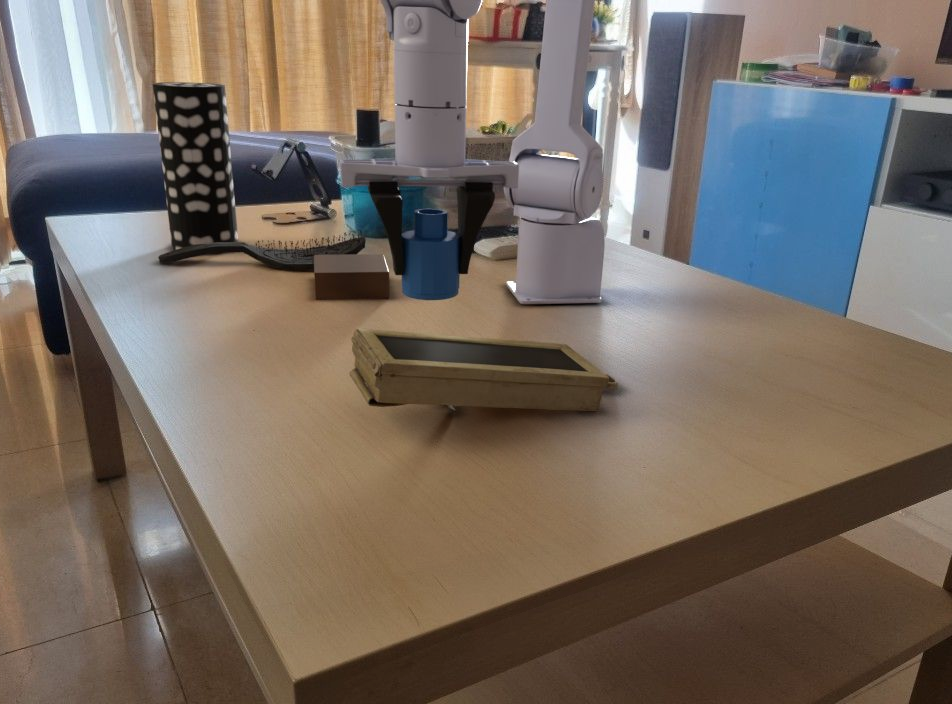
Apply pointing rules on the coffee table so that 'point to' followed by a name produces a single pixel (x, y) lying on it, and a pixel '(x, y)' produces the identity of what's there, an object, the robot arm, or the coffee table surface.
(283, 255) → the hairbrush
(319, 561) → the coffee table surface
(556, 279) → the robot arm
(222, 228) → the white-spotted black cylinder
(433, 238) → the bottle
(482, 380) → the box
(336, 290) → the block
